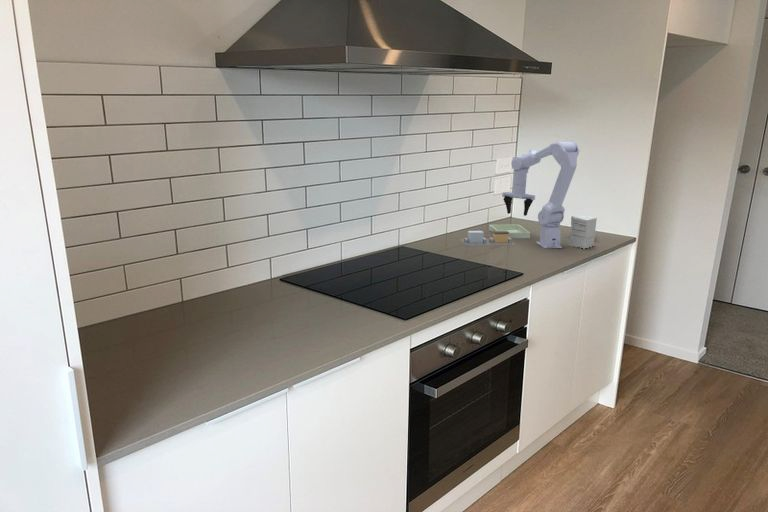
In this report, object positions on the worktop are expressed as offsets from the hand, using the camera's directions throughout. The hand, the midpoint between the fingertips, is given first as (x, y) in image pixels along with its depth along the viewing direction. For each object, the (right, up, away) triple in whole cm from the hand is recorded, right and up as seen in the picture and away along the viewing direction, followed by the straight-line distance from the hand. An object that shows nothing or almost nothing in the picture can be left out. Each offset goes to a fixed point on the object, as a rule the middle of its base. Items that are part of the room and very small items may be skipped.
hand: (517, 214), depth 275 cm
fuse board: (-15, -13, -12) cm, 23 cm away
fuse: (-21, -13, -13) cm, 27 cm away
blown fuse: (-10, -12, -11) cm, 19 cm away
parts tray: (-3, -9, +3) cm, 10 cm away
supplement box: (+24, -15, -14) cm, 32 cm away
